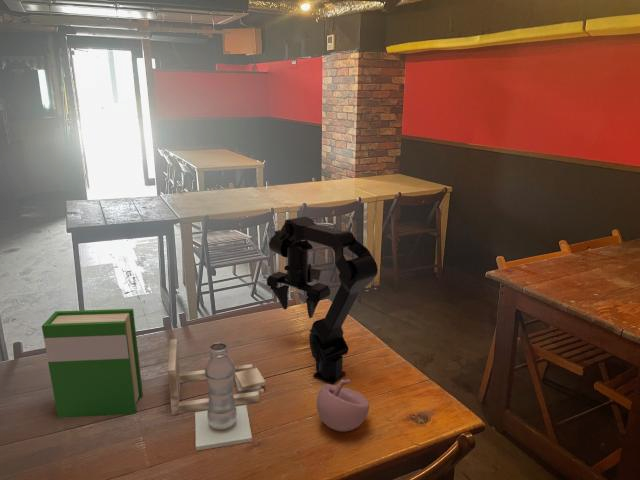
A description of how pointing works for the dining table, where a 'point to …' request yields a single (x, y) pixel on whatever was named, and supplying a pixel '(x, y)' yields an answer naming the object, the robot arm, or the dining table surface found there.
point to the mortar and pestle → (341, 406)
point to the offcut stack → (249, 381)
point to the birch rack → (178, 378)
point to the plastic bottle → (220, 388)
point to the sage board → (222, 431)
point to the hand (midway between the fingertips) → (297, 313)
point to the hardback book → (93, 362)
